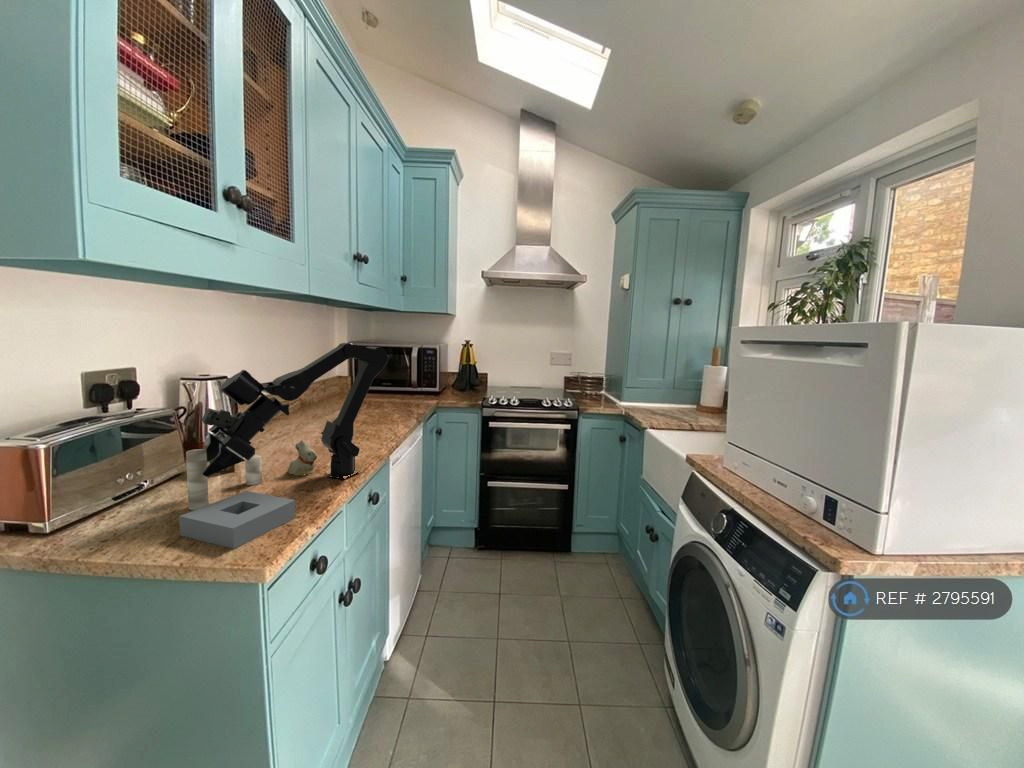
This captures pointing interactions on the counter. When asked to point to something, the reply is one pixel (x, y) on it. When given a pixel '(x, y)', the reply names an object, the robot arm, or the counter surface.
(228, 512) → the socket block
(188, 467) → the long pin
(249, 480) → the short pin
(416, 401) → the counter surface
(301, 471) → the chocolate bunny
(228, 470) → the food container
